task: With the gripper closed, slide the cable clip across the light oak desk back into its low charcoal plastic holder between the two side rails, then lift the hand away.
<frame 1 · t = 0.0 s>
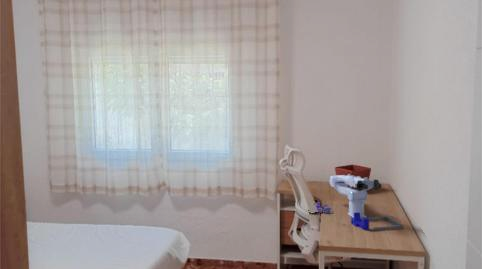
hand: (373, 186, 217), 22 cm above the table, tool horizontal, fingers open, 7 cm apart
cable clip: (359, 226, 220), on the table
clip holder: (380, 224, 222), on the table
plant pot: (352, 190, 303), on the table
toy race car: (319, 212, 248), on the table
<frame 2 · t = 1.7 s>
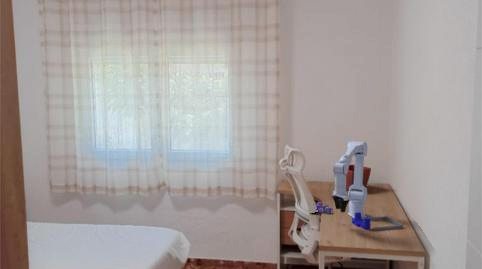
hand: (340, 210, 217), 9 cm above the table, tool pointing down, fingers open, 6 cm apart
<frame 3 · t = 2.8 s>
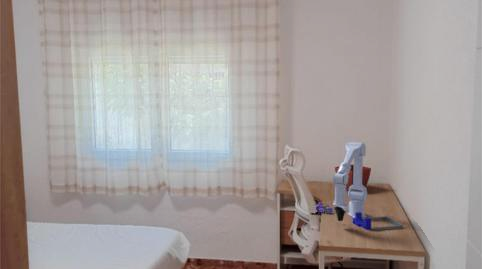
hand: (340, 220, 217), 4 cm above the table, tool pointing down, fingers closed
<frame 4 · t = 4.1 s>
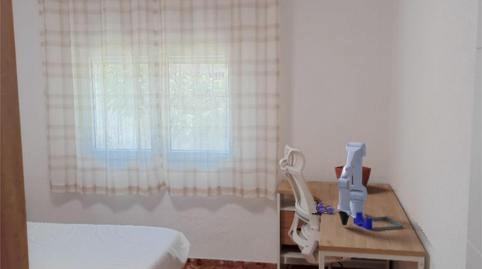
hand: (344, 224, 218), 1 cm above the table, tool pointing down, fingers closed
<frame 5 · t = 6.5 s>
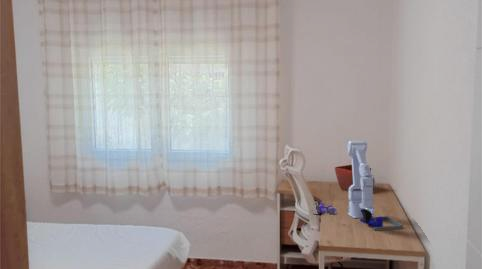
hand: (367, 223, 220), 1 cm above the table, tool pointing down, fingers closed
cable clip: (372, 225, 221), on the table
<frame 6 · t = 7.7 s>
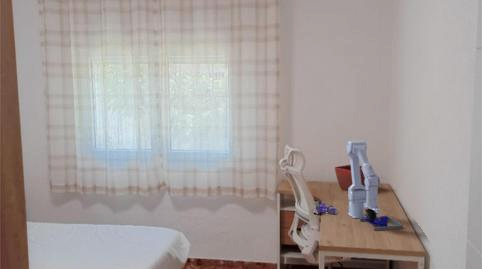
hand: (371, 222, 221), 1 cm above the table, tool pointing down, fingers closed
cable clip: (376, 225, 222), on the table
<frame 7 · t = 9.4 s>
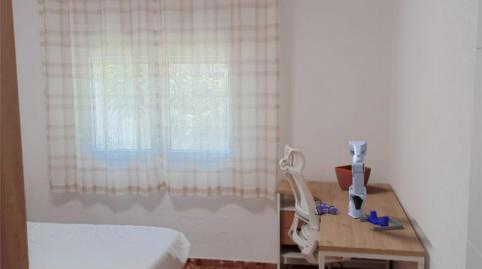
hand: (357, 209, 219), 9 cm above the table, tool pointing down, fingers closed
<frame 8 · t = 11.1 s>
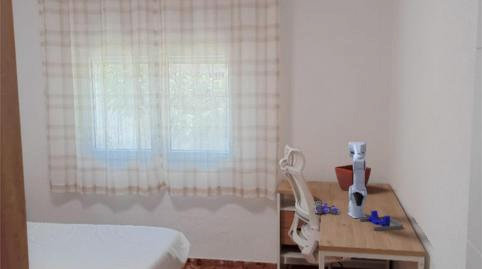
hand: (358, 205, 222), 10 cm above the table, tool pointing down, fingers closed
at the end: cable clip inside the target area on the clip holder (0.8 cm from its centre), point 0.0 cm above the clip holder's base; cable clip tilted 0°; the gripper is holding nothing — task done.
